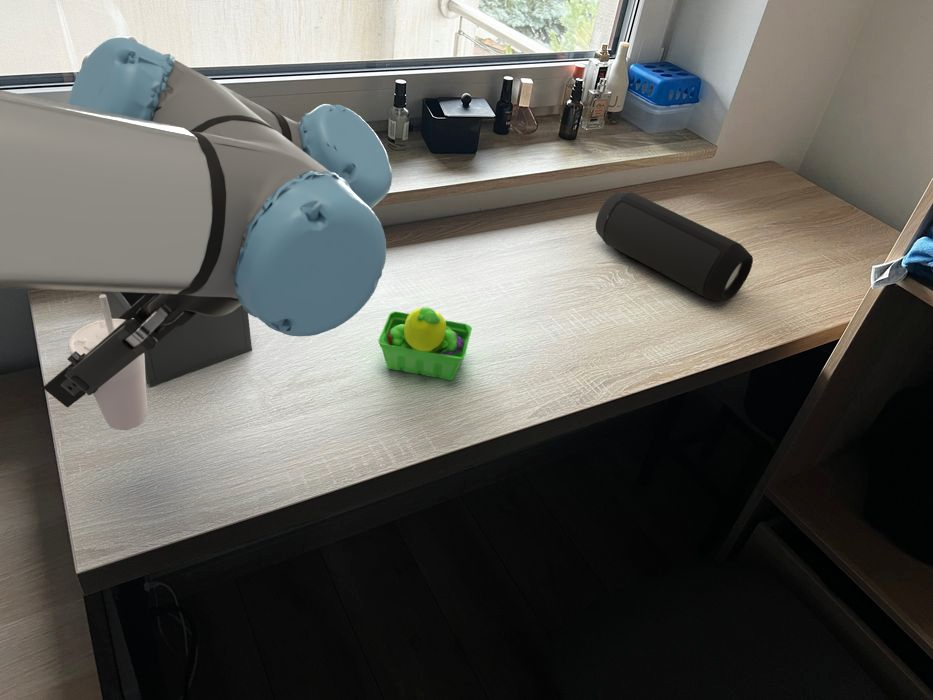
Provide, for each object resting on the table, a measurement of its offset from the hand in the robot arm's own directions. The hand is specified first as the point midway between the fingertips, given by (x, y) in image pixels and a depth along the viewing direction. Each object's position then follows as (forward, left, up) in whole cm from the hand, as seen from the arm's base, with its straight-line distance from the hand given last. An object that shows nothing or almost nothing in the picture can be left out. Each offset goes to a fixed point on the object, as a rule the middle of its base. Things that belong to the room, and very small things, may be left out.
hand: (81, 371), depth 68 cm
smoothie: (+2, -3, -5) cm, 6 cm away
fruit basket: (+39, -3, -16) cm, 42 cm away
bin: (+15, +19, -16) cm, 29 cm away
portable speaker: (+89, -5, -16) cm, 91 cm away
